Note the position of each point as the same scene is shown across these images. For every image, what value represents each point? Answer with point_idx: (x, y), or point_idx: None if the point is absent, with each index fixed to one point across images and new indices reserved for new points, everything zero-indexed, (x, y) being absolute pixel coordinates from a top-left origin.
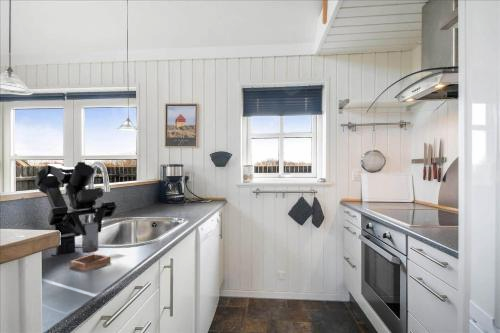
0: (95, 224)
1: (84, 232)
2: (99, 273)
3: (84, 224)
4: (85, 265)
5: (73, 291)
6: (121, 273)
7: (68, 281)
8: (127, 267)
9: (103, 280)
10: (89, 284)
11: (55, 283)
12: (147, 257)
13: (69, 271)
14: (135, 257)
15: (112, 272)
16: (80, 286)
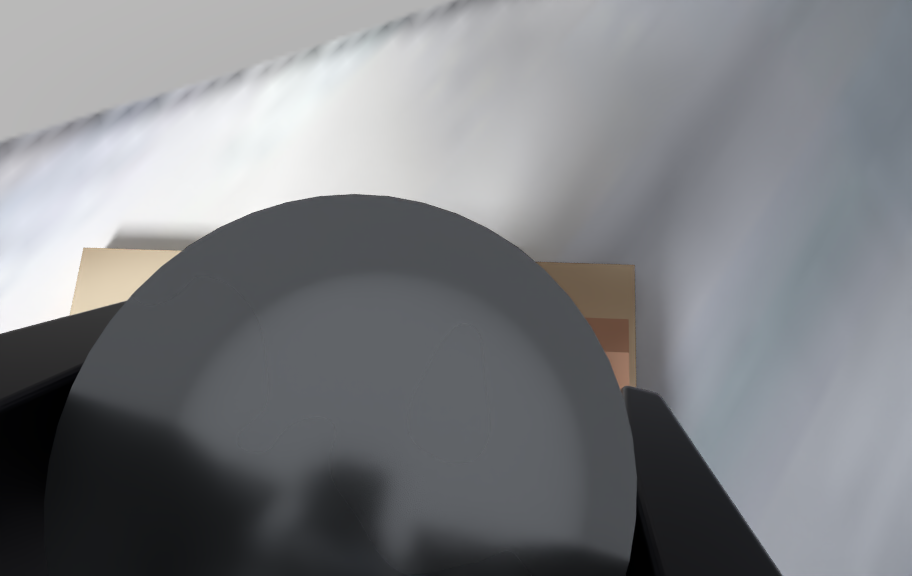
0: (341, 207)
1: (630, 395)
2: (537, 237)
3: (584, 499)
4: (626, 337)
5: (898, 97)
6: (456, 49)
7: (807, 344)
8: (318, 114)
9: (635, 63)
10: (747, 99)
11: (903, 424)
12: (17, 147)
13: None
14: (42, 270)
15: (469, 142)
16: (811, 133)
